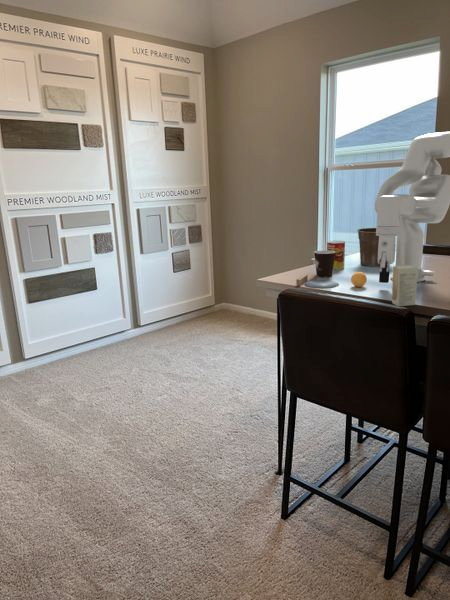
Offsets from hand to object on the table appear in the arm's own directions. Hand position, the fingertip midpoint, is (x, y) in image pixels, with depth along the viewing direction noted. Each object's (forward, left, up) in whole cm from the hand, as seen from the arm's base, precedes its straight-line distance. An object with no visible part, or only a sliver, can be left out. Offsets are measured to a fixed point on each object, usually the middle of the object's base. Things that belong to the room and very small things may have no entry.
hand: (383, 282), depth 163 cm
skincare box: (-9, +19, -3) cm, 21 cm away
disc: (+23, -1, -3) cm, 23 cm away
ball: (+9, -1, 0) cm, 9 cm away
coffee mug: (+26, -19, -3) cm, 33 cm away
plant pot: (+10, -48, -3) cm, 49 cm away
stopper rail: (+31, -1, -3) cm, 31 cm away
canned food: (+25, -35, -3) cm, 43 cm away
